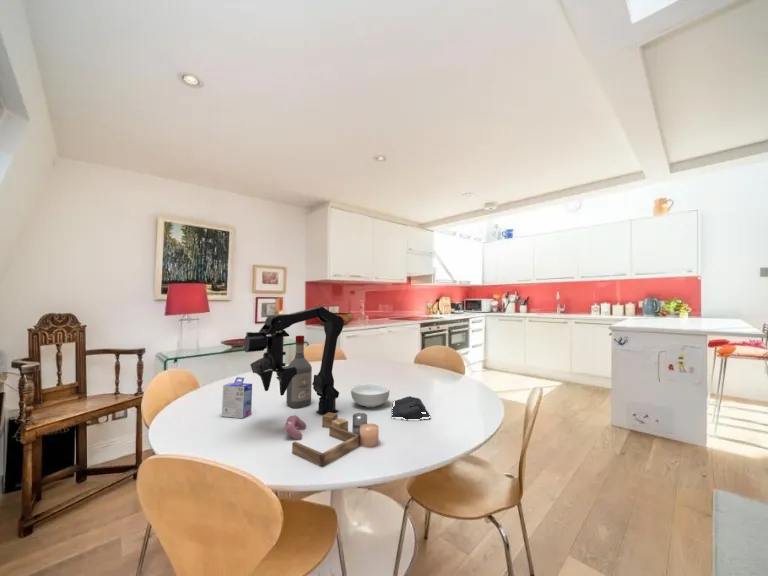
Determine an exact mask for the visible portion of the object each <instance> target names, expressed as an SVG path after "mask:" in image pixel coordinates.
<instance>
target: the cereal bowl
mask: <svg viewBox="0 0 768 576" xmlns="http://www.w3.org/2000/svg"><path fill="white" fill-rule="evenodd" d="M350 393H351V394H350V395H351V398H352V400H353V402H355V403H356V404H358V405H361V406H362V407H363V406H366V407H365V408H374V407H373V406H377V405H378V406H380V405H383V404H384V403H386V402H387V400H388V399H389V397H390V388H389V387H388V386H386V385H383V384H378V383H361V384H357V385H355V386H352V387H351V389H350ZM378 406H377V407H378Z"/></svg>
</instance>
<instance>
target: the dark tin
mask: <svg viewBox="0 0 768 576" xmlns="http://www.w3.org/2000/svg"><path fill="white" fill-rule="evenodd" d="M363 424H368V414H366V413H364V412H357V413H353V415H352V426H351V427H352V429H351V430H352V431H351V432H352V433H355V434H358V435H360V426H361V425H363Z"/></svg>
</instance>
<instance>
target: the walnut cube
mask: <svg viewBox="0 0 768 576" xmlns="http://www.w3.org/2000/svg"><path fill="white" fill-rule="evenodd" d="M338 415H339V414H338V413H337V412H335V413H330V412H328V413H326V414H325V415H323V414H322V423H321V424H322V425H321V427H322V428H325V429H326V428H327V429H329V427H330V426H332V421H333V420H336V419H339V417H338Z"/></svg>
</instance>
